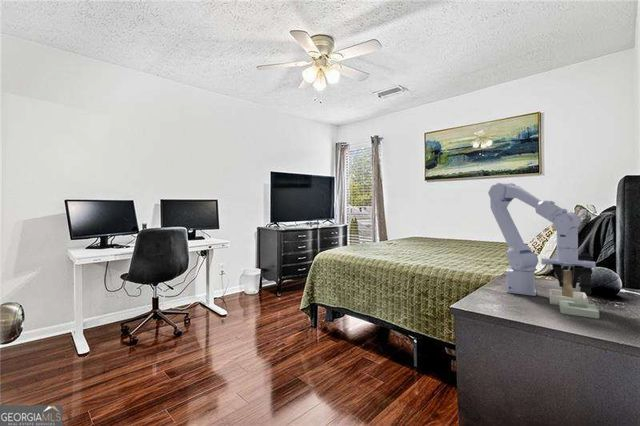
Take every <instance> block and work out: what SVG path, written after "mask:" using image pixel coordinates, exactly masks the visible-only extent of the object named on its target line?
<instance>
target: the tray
mask: <svg viewBox="0 0 640 426" xmlns="http://www.w3.org/2000/svg"><path fill="white" fill-rule="evenodd" d="M548 289H549V290H548V297H549V304H550V305H556V306H559V300H566V301H574V302H582V303H589V298H588V296H587V294H585V293H583V292H580V291H575V290H573V297H564V296H562V289H554V288H548Z"/></svg>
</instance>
